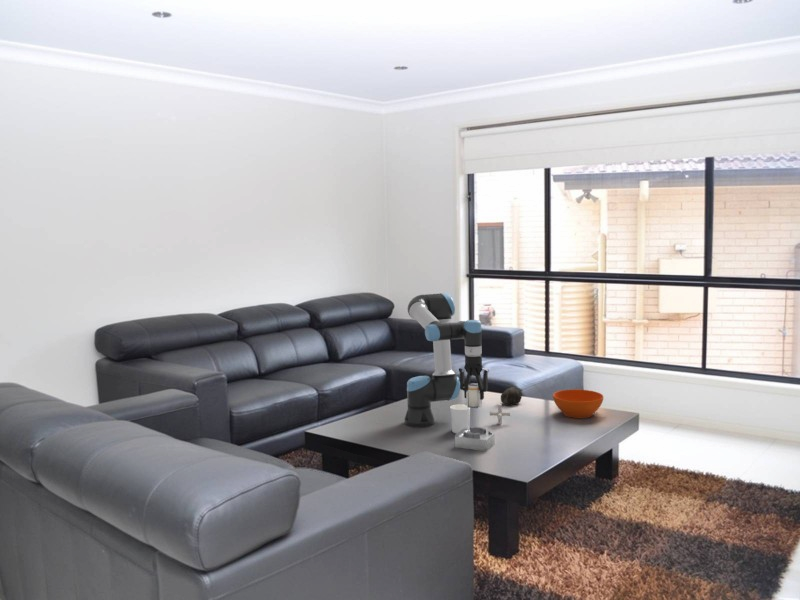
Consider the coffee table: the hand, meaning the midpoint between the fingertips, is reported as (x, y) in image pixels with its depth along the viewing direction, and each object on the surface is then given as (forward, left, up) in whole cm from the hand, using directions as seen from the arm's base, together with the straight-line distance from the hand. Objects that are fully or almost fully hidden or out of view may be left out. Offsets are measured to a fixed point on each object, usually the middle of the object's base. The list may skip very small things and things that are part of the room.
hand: (474, 405), depth 325 cm
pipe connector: (0, +36, -19) cm, 41 cm away
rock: (-6, +74, -19) cm, 77 cm away
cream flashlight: (0, 0, 0) cm, 0 cm away
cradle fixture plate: (0, 0, -18) cm, 18 cm away
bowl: (+32, +66, -19) cm, 76 cm away
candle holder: (-14, +18, -19) cm, 29 cm away
